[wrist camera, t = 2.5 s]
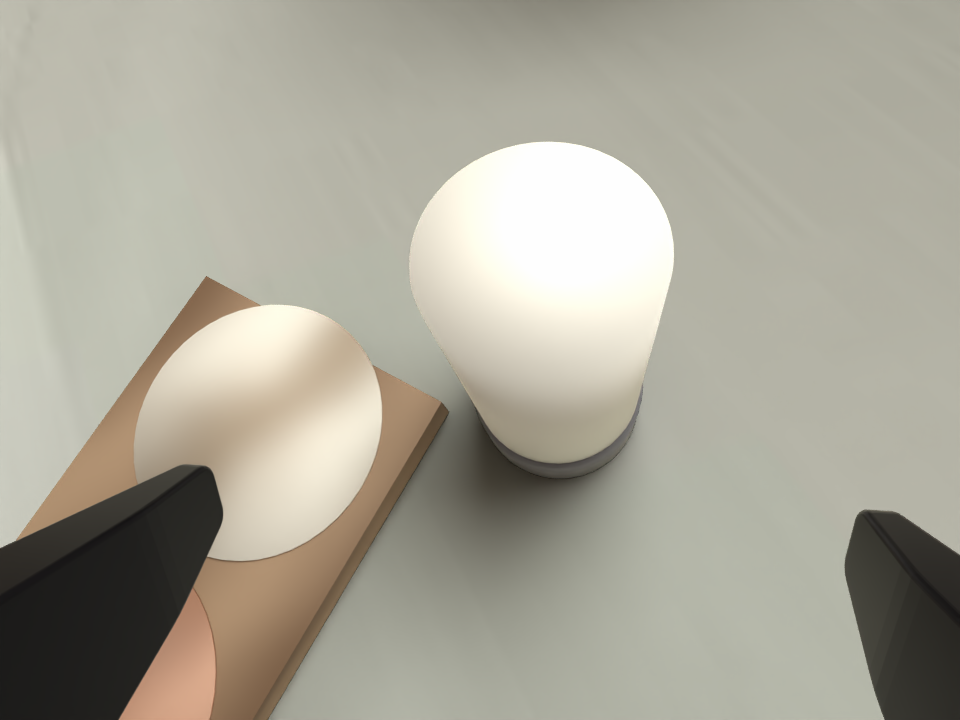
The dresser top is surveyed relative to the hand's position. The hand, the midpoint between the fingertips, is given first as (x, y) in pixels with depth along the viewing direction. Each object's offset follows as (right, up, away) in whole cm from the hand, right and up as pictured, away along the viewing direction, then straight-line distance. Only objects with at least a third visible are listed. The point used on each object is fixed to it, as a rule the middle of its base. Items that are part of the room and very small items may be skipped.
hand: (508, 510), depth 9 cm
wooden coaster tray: (-10, -4, +12) cm, 16 cm away
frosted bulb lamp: (+2, +1, +12) cm, 12 cm away
